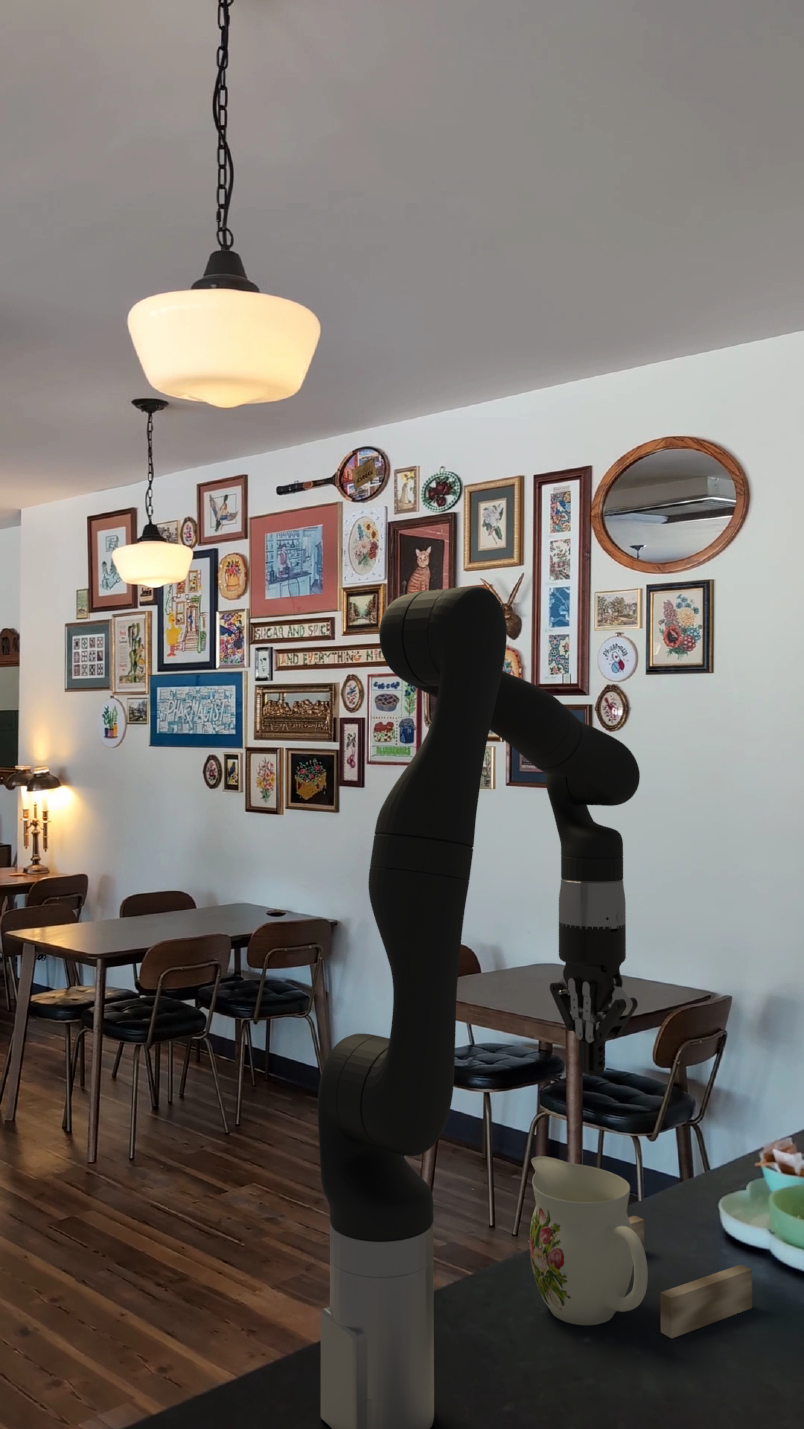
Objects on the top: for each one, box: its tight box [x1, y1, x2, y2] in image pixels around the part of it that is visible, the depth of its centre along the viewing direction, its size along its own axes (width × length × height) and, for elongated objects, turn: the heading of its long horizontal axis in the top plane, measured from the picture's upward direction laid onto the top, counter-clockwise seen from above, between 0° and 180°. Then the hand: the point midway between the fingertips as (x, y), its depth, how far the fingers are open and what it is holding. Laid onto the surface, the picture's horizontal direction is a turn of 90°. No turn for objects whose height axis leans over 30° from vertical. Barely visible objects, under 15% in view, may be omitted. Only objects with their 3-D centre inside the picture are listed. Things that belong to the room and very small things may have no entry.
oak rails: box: [628, 1215, 753, 1339], centre depth 128 cm, size 12×18×4 cm
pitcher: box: [529, 1155, 649, 1326], centre depth 123 cm, size 11×18×14 cm, turn 29°
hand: (592, 1073), depth 131 cm, fingers closed
